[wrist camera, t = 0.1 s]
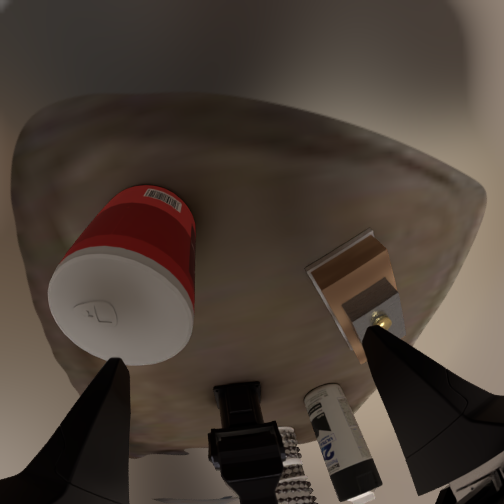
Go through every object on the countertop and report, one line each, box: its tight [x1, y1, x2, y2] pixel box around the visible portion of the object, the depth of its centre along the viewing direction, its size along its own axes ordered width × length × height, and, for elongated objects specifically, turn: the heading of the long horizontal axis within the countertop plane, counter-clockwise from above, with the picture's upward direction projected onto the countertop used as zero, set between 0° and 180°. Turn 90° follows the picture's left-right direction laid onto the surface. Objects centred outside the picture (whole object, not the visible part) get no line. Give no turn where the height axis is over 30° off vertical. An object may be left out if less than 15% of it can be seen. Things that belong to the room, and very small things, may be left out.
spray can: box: [304, 384, 382, 502], centre depth 31 cm, size 7×7×20 cm
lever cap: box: [342, 277, 406, 350], centre depth 25 cm, size 8×5×3 cm, turn 31°
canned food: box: [48, 185, 196, 365], centre depth 16 cm, size 8×8×11 cm
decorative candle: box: [275, 426, 318, 504], centre depth 36 cm, size 9×9×25 cm
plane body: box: [305, 228, 406, 364], centre depth 28 cm, size 17×8×4 cm, turn 31°
